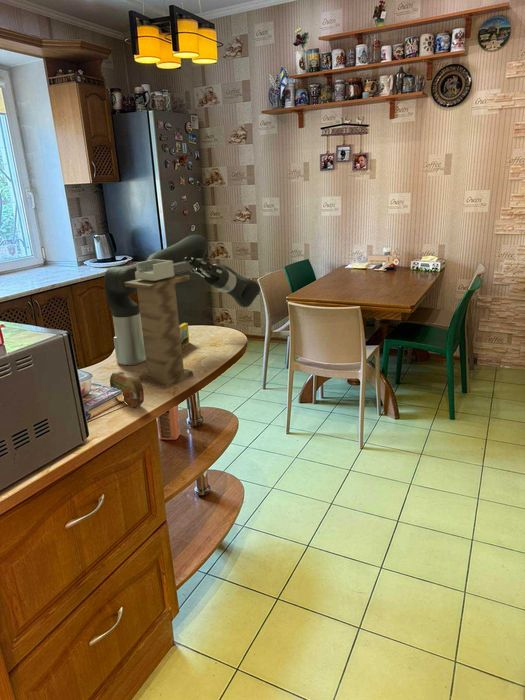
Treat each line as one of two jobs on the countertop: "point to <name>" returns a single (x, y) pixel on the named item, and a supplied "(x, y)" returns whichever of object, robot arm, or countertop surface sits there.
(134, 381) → the tin
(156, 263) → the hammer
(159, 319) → the stand
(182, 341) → the candy box
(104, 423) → the countertop surface
